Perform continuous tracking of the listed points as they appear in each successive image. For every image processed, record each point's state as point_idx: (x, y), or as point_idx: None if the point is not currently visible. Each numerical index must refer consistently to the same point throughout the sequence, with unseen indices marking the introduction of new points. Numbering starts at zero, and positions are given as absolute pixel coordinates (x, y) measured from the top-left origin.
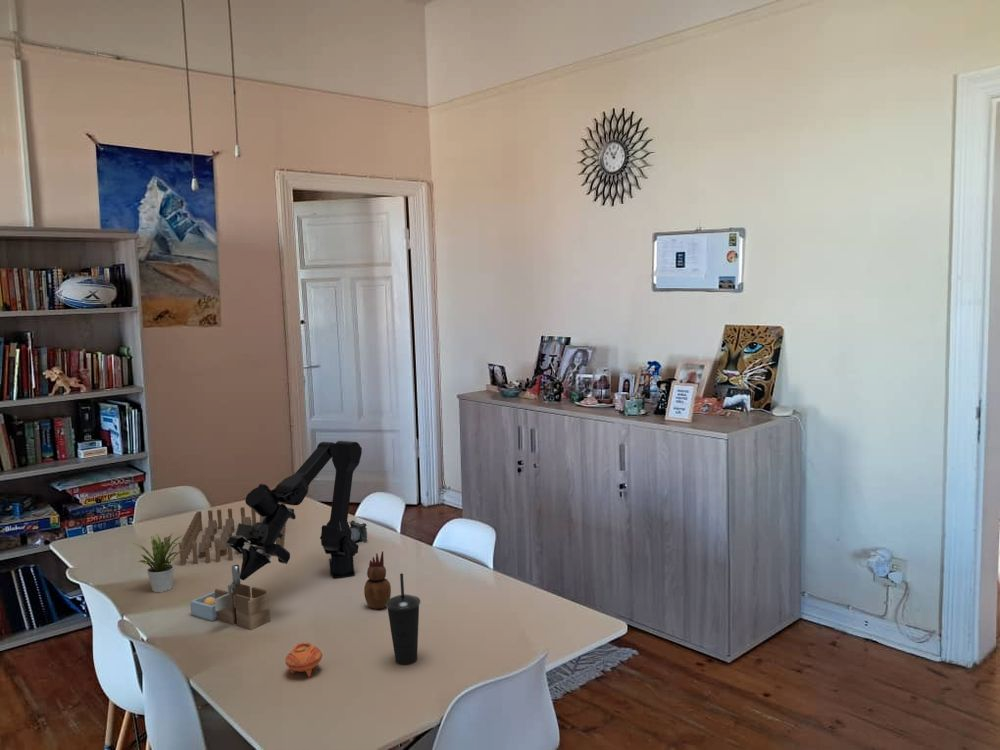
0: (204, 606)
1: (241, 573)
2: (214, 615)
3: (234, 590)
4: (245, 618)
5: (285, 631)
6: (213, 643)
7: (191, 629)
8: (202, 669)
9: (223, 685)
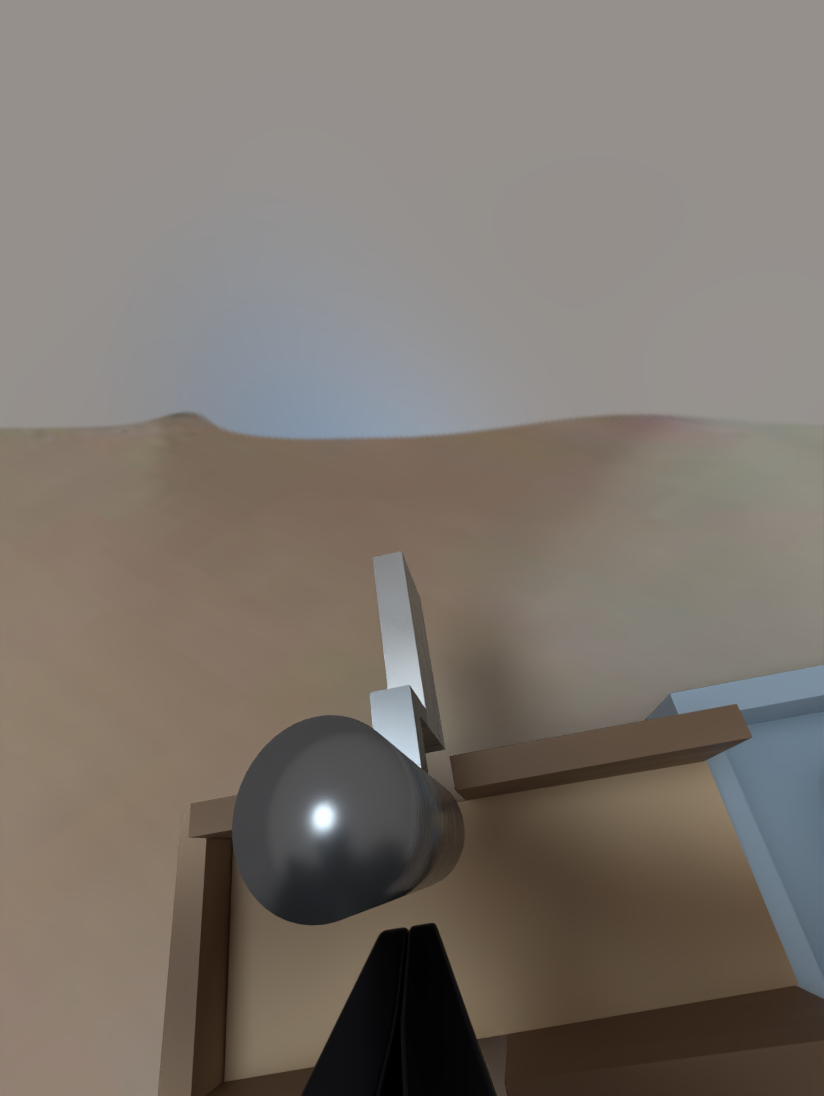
0: (762, 677)
1: (415, 992)
2: None
3: (781, 1009)
4: None
5: (64, 974)
6: (334, 581)
7: (613, 578)
8: (172, 462)
9: (19, 468)
